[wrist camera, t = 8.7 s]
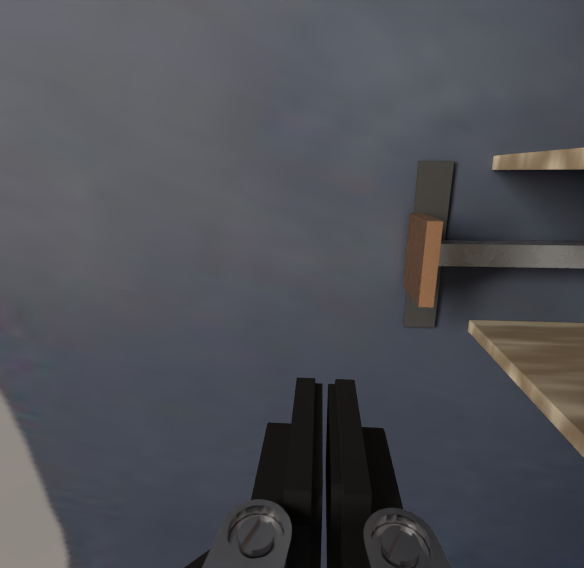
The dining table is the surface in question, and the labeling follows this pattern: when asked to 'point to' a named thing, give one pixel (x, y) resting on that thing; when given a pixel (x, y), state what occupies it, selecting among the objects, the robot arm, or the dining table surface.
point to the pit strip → (435, 203)
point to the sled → (473, 255)
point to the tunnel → (542, 333)
